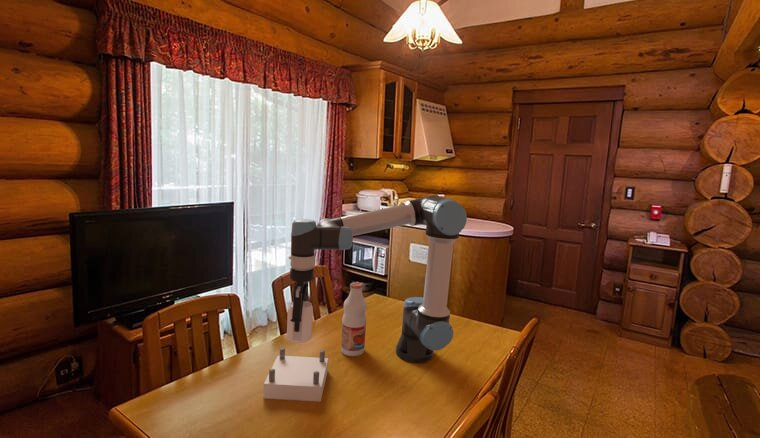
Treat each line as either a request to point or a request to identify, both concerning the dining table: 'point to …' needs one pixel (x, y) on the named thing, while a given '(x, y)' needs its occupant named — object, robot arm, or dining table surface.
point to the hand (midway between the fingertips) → (299, 333)
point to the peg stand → (296, 378)
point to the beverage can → (306, 322)
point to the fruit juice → (354, 322)
